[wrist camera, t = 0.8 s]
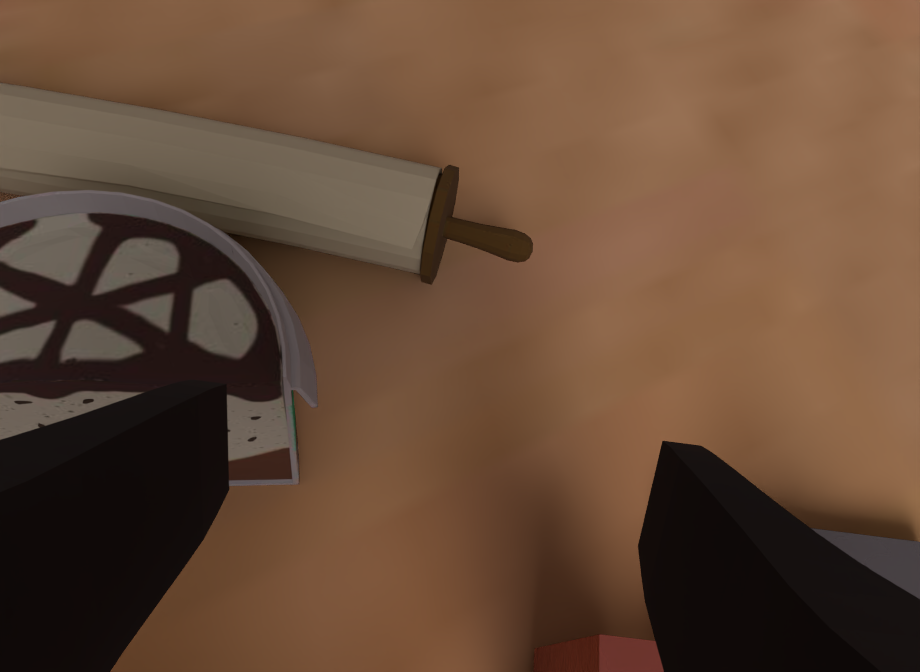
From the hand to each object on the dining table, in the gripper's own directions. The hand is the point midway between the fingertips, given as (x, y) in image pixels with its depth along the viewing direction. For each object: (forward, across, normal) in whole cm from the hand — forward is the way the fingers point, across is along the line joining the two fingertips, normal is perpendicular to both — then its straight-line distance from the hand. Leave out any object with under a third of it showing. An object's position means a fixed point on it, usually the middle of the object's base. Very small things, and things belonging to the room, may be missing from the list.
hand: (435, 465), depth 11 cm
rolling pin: (+20, +14, +1) cm, 24 cm away
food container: (+13, +11, +7) cm, 18 cm away
